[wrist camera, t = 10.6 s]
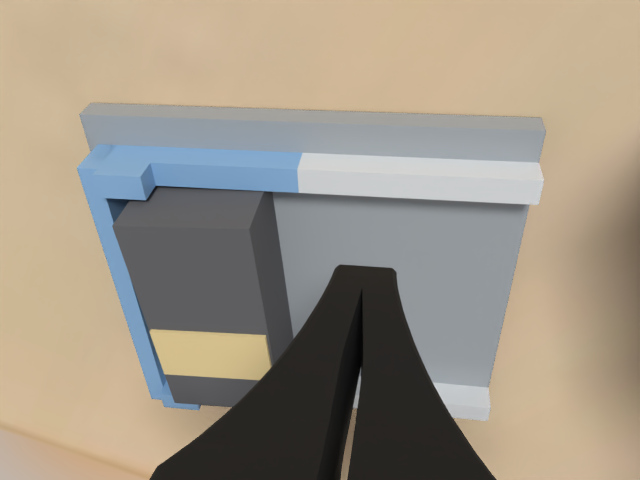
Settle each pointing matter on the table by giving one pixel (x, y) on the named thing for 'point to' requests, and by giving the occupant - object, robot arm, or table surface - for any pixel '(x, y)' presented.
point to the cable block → (208, 287)
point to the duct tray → (344, 212)
